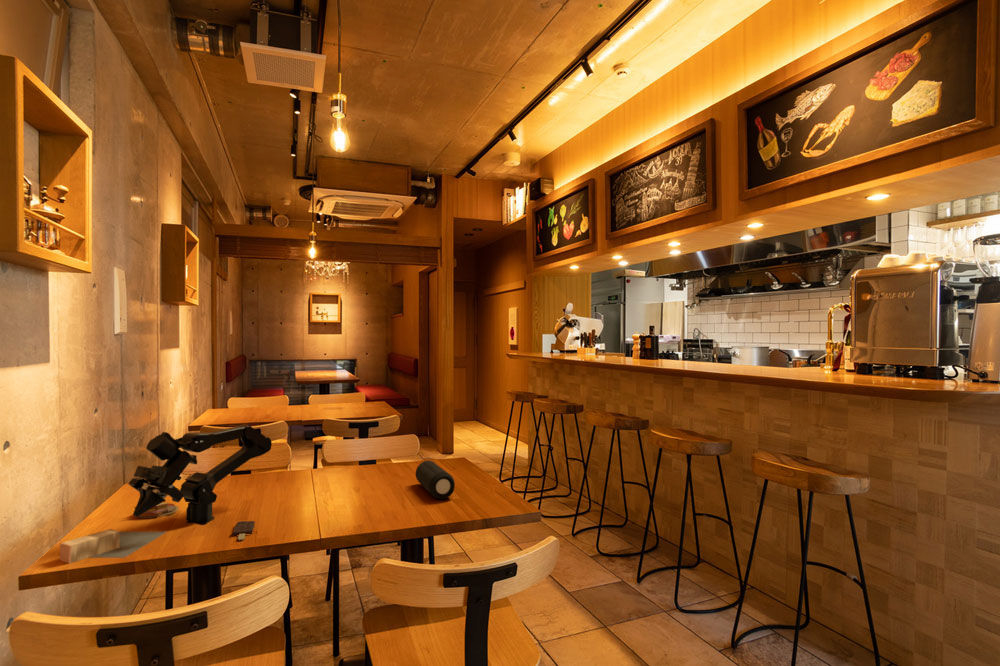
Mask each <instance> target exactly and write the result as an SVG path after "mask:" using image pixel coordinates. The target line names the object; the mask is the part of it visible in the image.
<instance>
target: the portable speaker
mask: <svg viewBox="0 0 1000 666" xmlns="http://www.w3.org/2000/svg"><path fill="white" fill-rule="evenodd" d="M415 478H416V480H417V482H418V483H419V484H420V485H421V486H422V487H423V488H425V490H426V491H427V492H428V493H429V494H430V495H431V496H432V497H434V498H435V499H438V500H443V499H444V498H445V499H447V498H449V497H451V495H452V494H453V493H454V491H455V489H456V487H455V486H456V483H455V479H454V477H453V476H452V474H450V473H448V472H447V471H446V470H445V469H443V468H442V467H440V466H439V465H438V464H437V463H435V462H434V461H432V460H425V461H422V462H421V463H420V464H418V466H416V470H415Z"/></svg>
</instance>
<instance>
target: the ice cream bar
mask: <svg viewBox="0 0 1000 666" xmlns="http://www.w3.org/2000/svg"><path fill="white" fill-rule="evenodd" d="M255 523H256V521H255V520H249V521H248V520H240V521H237V522H236V523H235V526H234V529H233V531H232V537H233V536H236V537H237V541H238V540H239V542H240V540H242V541H244V540H245V538H246V536H247V535H246V534H252V535H253V533H252V532H254V529H253V528H255V525H256V524H255ZM254 524H255V525H254ZM237 535H239V536H237ZM245 535H246V536H245Z"/></svg>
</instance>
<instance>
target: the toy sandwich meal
mask: <svg viewBox="0 0 1000 666" xmlns="http://www.w3.org/2000/svg"><path fill="white" fill-rule="evenodd" d="M135 508H136V506H134V508H133V509H135ZM177 511H179V506H177V505H175V504H174V503H169V502H162V503H160V504H158V505H156V506H155V507H153V508H151V509H149V510H148V511H146V512H144V513H142V514H141V515H139V516H137V518H140V519H141V518H142V519H150V518H158V517H163V516H165V517H169V516H172V515H174V514H176V512H177ZM173 513H174V514H173ZM171 514H172V515H171ZM168 515H169V516H168Z"/></svg>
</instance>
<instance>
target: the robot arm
mask: <svg viewBox="0 0 1000 666" xmlns="http://www.w3.org/2000/svg"><path fill="white" fill-rule="evenodd" d="M238 439H240V440H241V442H242V443H243V444H242V446H241V448H240V449H239V450H237V451H236V452H235V453H233V454H232V455H230V456H229V457H227V458H226V459H225V460H223V461H221V462H220V463H219V464H217V465H216V466H215V467H213V468H211V469H210V470H208V471H207V472H206V473H203V472H197V471H196V472H195V473H193V474H192V475H190V476H189V477H187V478H184V480H185V481H184V482H182V483H181V485H180V486H181V487H180V489H179V488H177V487H176V486H175V485H174V483H175V482H176V481H181V480H182V477H181V474H182V473H183V472H184V470H185V469H186V468H187V467H188V466H189V464H190V465H191V464H192V465H197V464H198V459H197V455H195V454H190V453H189V452H192V453H197V454H198V453H202V452H204V451H206V450H209V449H211V448H212V447H213V446H215V445H217V444H223V443H226V442H230V441H236V440H238ZM272 445H273V443H272V440H271V438H270V437H269V436H268V437H267V436H266V435H264V434H262V433H260V432H259V431H258V430H256V429H255V428H254V427H252V426H251V425H248V424H247V425H246V424H240V425H238V426H233V427H228V428H224V429H218V430H215V431H211V432H186V433H185V434H183V435H182V436H181V437H179V438H174V437H172V435H171V434H170V433H169V432H167V431H162V433H160V434H159V435H156V436H155V437H154V438H152V439H150V440H149V442H147V445H146V450H147V451H149V452H150V453H151V454H152V455H153V456H155V457H156V458H158V459H159V460H160V461H163V462H164V461H165V462H164V463H163V464H162V465H152V466H151V467H147V466H142V465H137V467H136V470H135V471H134V474H133V478H131V479H130V480H129V482H128V483H127V484H128V485H129V486H130V487H132V488H133V489H134V490H136V491H138V492H139V498H138V501H137V504H136V505H135V507H136V508H134V511H133V513H132V515H133V516H134V517H137V516H139V515H141V514H142V513H144V512H146V511H148V510H149V509H151V508H153V507H155V506H156V505H158V504H160V503H166V501H167V500H166V498H167V497H168V496H169V497H170V498H171V500H172V502H175V503H179V502H181V501H182V499H184V502H185V503H187V507H186V510H185V511H186V515H185V516H186V517H185V518H186V520H185V522H184V524H195V525H206V524H208V523H210V522H211V521H212V520H214V519H215V518H216V516H215V515H214V516H213V503H216V501H217V497H218V495H217V494H216V493H215V492H213V491H214V489H215V487H216V485H217V484H218V483H219V482H221V481H222V480H223V479H225V478H227V477H228V476H229V475H230V474H232V473H233V472H235V471H236V470H237V469H239V468H240V467H241V466H243V465H244V464H246V463H247V462H249V461H250V460H251V459H254V458H258V457H261V456H264V455H265V454H266V453H269V452H270V451H271V449H272ZM137 518H138V517H137Z"/></svg>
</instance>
